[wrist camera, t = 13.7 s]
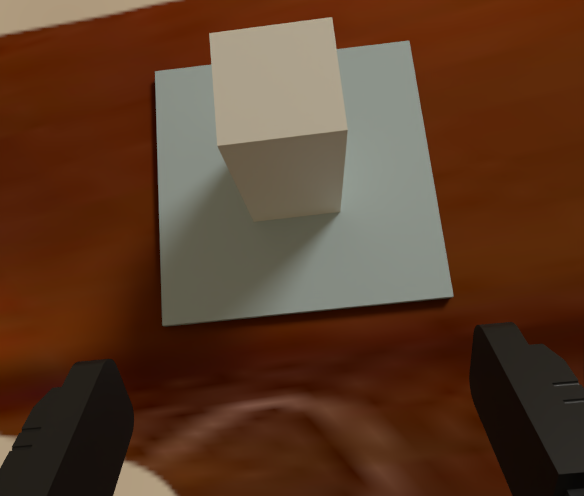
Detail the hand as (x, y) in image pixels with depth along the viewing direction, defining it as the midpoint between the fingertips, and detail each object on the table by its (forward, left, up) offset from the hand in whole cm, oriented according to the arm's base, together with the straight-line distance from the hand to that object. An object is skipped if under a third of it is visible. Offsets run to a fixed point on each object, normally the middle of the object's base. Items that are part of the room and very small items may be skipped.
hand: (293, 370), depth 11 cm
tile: (+8, -8, -16) cm, 20 cm away
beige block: (+8, -8, -16) cm, 19 cm away
